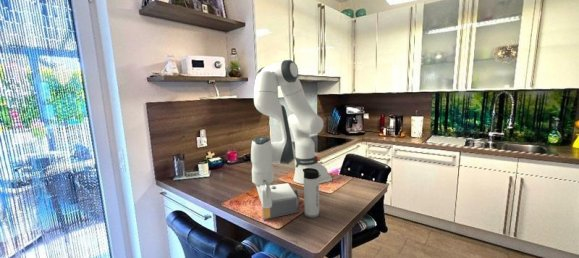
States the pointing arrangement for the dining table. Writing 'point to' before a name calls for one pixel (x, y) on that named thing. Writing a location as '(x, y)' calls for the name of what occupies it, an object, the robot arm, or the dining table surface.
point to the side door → (281, 208)
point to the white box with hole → (282, 192)
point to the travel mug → (311, 192)
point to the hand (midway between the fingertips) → (264, 208)
